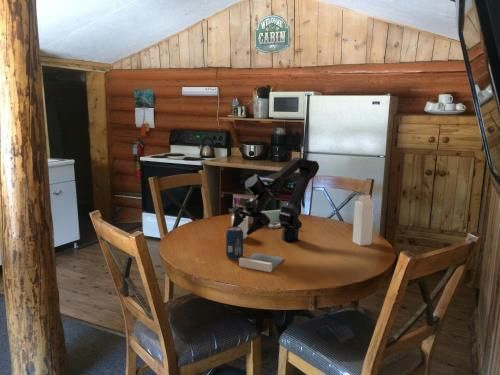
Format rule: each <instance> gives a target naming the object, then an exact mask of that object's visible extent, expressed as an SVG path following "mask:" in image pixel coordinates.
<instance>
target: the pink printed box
mask: <svg viewBox="0 0 500 375" xmlns="http://www.w3.org/2000/svg"><path fill="white" fill-rule="evenodd" d="M240 198H245V199H249V200H250V199H251V198H253V199H254V198H255V195H250V194H249V195H247V194H235V193H233V194H232V208H233V207H234V206H236V205H237V206H240V207H242V208H243V209H244V206H242V205H238V203H239V201H240ZM244 210H245V211H246V209H244ZM233 215H234V213H233V212H232V216H233ZM252 223H253V218H251V217H248V224H250V225H251V224H252Z"/></svg>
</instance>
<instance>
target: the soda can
mask: <svg viewBox="0 0 500 375" xmlns="http://www.w3.org/2000/svg"><path fill="white" fill-rule="evenodd" d="M225 255H226V256H227V258H228V259H230V260H239V258H241V257H242V258H243V256H244V239H243V231H242V228H241V227H232V226H229V227H228V228H227V230H226V232H225Z"/></svg>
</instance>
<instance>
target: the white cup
mask: <svg viewBox="0 0 500 375" xmlns="http://www.w3.org/2000/svg"><path fill="white" fill-rule="evenodd" d="M233 221H234V215H233V214H232V215H231V226H232V225H233ZM238 227H241V228H242V231H243V240H244V239H247V237H248V235H247V234H246V233H247V231H248V229H249V223H248V216H246V218H244V221H243V222H242V223H241V224H240V225H239V226H238Z"/></svg>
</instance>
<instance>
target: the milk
mask: <svg viewBox="0 0 500 375" xmlns="http://www.w3.org/2000/svg"><path fill="white" fill-rule="evenodd" d="M353 210H354V212H353V228H352V243H354V244H357V245H358V246H361V245H362V246H368V245H372V241H373V240H372V239H373V228H374V227H373V225H374V210H375V203H374V200H372V199H371V195H370V194H368V195H360V196H359V197H358V199H357V200H355V201H354V209H353Z"/></svg>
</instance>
